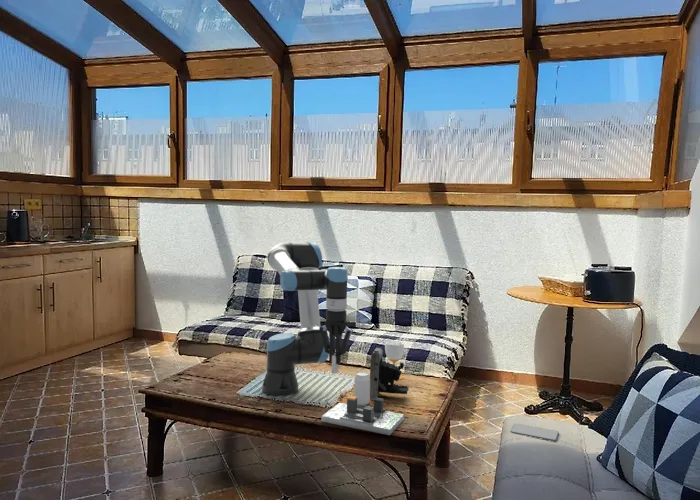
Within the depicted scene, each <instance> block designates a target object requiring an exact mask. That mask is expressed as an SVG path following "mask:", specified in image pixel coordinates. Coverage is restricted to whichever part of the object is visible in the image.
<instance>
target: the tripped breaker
mask: <svg viewBox="0 0 700 500" xmlns="http://www.w3.org/2000/svg"><path fill="white" fill-rule="evenodd" d="M346 404H347V412H350V413H356V412H357V397H356V396H354V395H348V396H347V398H346Z"/></svg>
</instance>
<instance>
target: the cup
mask: <svg viewBox="0 0 700 500" xmlns="http://www.w3.org/2000/svg"><path fill="white" fill-rule="evenodd" d="M384 350H385V355H386V358H387V359H388V360H389V361H390V362H392V363H393V365H395V366H396V363H397V362H399V361H400V360H401V359H402V357H403V355H404V351H405V343H404V342H402V341H399V340H387V341H386V342H385V343H384ZM402 379H404V376H403V375H402V374H401V375H400V378H399V379H398V381H400V380H402Z"/></svg>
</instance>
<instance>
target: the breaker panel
mask: <svg viewBox="0 0 700 500" xmlns="http://www.w3.org/2000/svg"><path fill="white" fill-rule="evenodd" d="M384 400H385V399H384V398H382V397H378V396H377V397H376V398H375V399H374V400H373V406H370V405H360V404H357V412H356V413H350V412H347V403H344V402H339V403H337V404H336V405H334V406H333V407H332V408H330V409H329V410H328V411H326V413H323V414H322V415H321V422H323V423H326V424H333V425H337V426H341V427H347V428H352V429H357V430H362V431H368V432H372V433H376V434H382V435H387V436H391V435H392V433H393V432H394V431H395V430H397V428H398V427H399V426H400V424H402V423H403V421H405V417H404V416H405V414H404V413H398V412H394V411H392V412H391V411H387V409H386V408H384V405H385V403H384V402H385V401H384Z"/></svg>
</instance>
